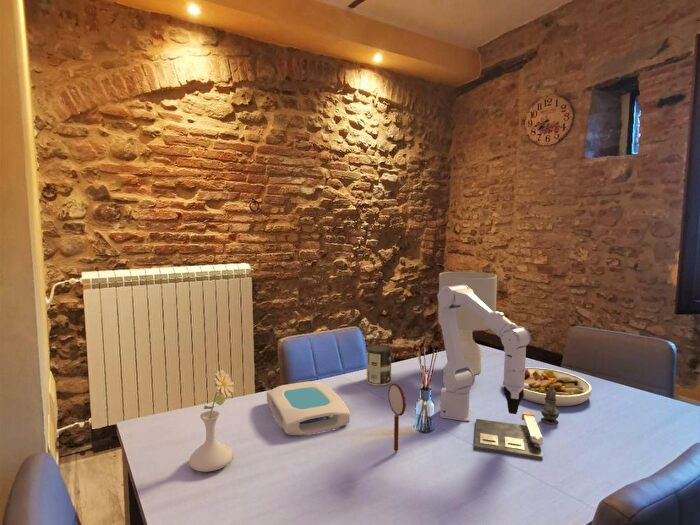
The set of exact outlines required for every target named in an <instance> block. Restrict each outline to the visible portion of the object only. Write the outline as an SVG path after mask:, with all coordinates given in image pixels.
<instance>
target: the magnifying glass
mask: <svg viewBox="0 0 700 525" xmlns="http://www.w3.org/2000/svg"><path fill="white" fill-rule="evenodd" d="M387 396H388V402H389V406H390V408H391V411H392V413H394V416H393V417H394V419H393V420H394V421H393V423H394V424H393V425H394V426H393V428H394V429H393V431H394V432H393V436H394V437H393V439H394V440H393V451H394V453H395V454H397V453H398V451H399V428H400V427H399V424H400V423H399V422H400V421H399V417H401V416H402V415H404V413H405V411H406V408H407V407H406V405H407V404H406V397H405V393H404V391H403V389H402V387H401V386H400V385H399V384H398V383H392V384H391V385H390V386H389V387H388V394H387Z"/></svg>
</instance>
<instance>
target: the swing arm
mask: <svg viewBox="0 0 700 525" xmlns="http://www.w3.org/2000/svg"><path fill="white" fill-rule="evenodd" d="M521 420H522V421H523V422H524V425H525V426H526V428H527V431H528V434H529V437H530V440H531V442H532V443H533V444H534V445H540V446H543V444H544V438H543V436H542V434H541V431H540V428H539V426H538V423H537V421H536V417H535V413H534V412H526V411H521Z"/></svg>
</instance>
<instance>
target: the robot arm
mask: <svg viewBox="0 0 700 525" xmlns="http://www.w3.org/2000/svg"><path fill="white" fill-rule="evenodd" d="M436 297H437V301H438V307H437V309H438V310H437V311H438V313H439V317H440V322H441V325H440V327H441V333H442V338H443V344H444V350H445V356H446V358H447V359H446V360H447V363H446V364H445V365H444V367H443V368H442V371H443V372H442V373H443V374H442V375H443V376H442V384H443V386H444V387H442V388H441V392H440V405H439V410H440V413H439V414H440V415H439V416H440V418H442V419H449V420H457V421H462V422H463V421H464V422H470V421H471V412H472V411H471V410H470V390H472V386H474V384H475V381H476V377H475V376H476V375H474V374H473V372H472V370H471V367H470V364H469V363H468V362H466V361H465V360H464V356H463V351H462V346H461V340H460V335H459V330H458V325H457V319H456V312H457V311H458V309H459V308H460V307H461V306H468V307H469V308H470V309H472V310H473V311H474V312H476V313H477V314H478V315H480V316H481V317H482V318H484V319H485V324H486V326H487V327H488V328H490V329H489V330H491V331H492V332H493V333H494V334H495V335H496V336H498V337H499V338H500V341H501V344H502V346H503V352H504V363H503V365H504V367H503V381H502V385H503V387H502V388H503V394H504V397H505V399H506V404H507V410H508V414H512V415H517V413H518V410H519V406H520V403H521V400H522V399H524V398H523V396H524V390H523V389H524V388H528V387H529V385H528V384H527V383H524V379H525V368H526V356H527V355H526V354H527V346H528V345H529V344H530V343H531V338H532V337H531V335H530V332H529V330H528V329H527V328H526V327H524V326H518V325H517V324H516V323H515V322H512V321H511V320H510V319H509V318H507V317H506V316H505V313H504V312H502V311H501V312H500V311H498V310H496V311H494V312H493V311H492V310H491V309H489V308H488V307H487V306H486V305H485V304H484V303H483V302H482V301H481V300H480V299H479V298H478V297H477V296H476V295H475V294H474V293H473V290H472V289H470V288H469V287H468V286H467V285H464V284H461V285H457V286H449V287H448V286H445V287H442V288H441V289H440V291H439V290H438V292H437V294H436ZM459 369H460V370H459Z"/></svg>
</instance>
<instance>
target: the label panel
mask: <svg viewBox="0 0 700 525" xmlns="http://www.w3.org/2000/svg"><path fill="white" fill-rule="evenodd" d="M474 433H475V434H474V446H473V447H474V448H473V449H474V450H476V451H483V452H488V453H489V452H490V453H496V454H503V455H509V456H515V457H521V458H527V459H528V458H529V459H535V460H538V461H539V460H541V461H542V460H543V457H544V456H543V452H542V448H541V445H534V444H533V443H532V442H531V440H530V437H529V434H528V431H527V428H526V426H525V424H517V423H509V422H502V421H496V420H495V421H494V420H487V419H481V418H480V419H479V418H476V419H475V432H474Z"/></svg>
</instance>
